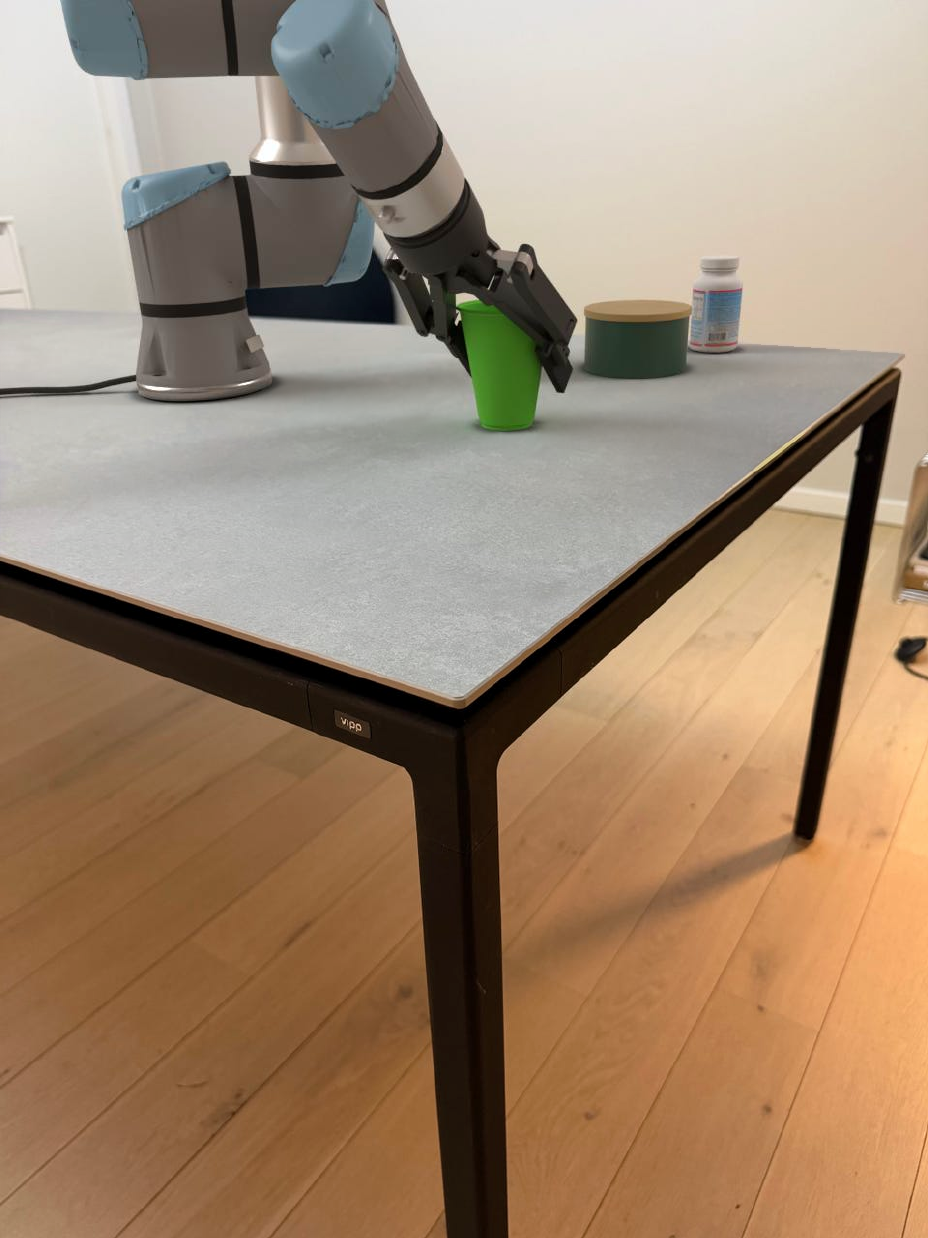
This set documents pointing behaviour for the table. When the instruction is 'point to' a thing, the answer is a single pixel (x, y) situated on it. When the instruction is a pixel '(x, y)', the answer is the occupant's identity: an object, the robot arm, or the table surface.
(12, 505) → the table surface
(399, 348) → the table surface
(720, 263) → the pill bottle
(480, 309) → the cup
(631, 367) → the tin
